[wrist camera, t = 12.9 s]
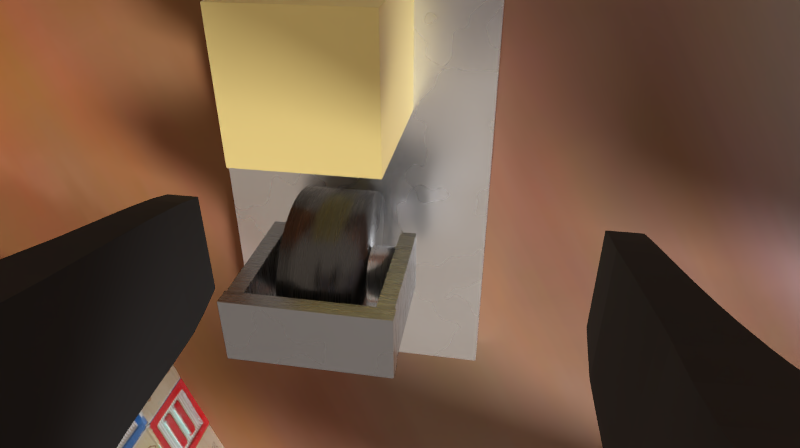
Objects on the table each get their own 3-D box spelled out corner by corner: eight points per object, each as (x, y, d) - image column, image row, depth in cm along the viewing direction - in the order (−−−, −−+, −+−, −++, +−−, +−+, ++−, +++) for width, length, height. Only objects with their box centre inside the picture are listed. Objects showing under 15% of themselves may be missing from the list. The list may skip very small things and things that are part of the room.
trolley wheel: (510, -69, 17) (503, -34, 11) (477, 343, 25) (462, 495, 19) (207, -73, 18) (56, -43, 12) (263, 319, 26) (186, 454, 20)
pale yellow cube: (414, -28, 17) (378, 7, 13) (413, 109, 19) (381, 179, 15) (277, -31, 18) (199, 1, 13) (290, 102, 20) (226, 167, 15)
